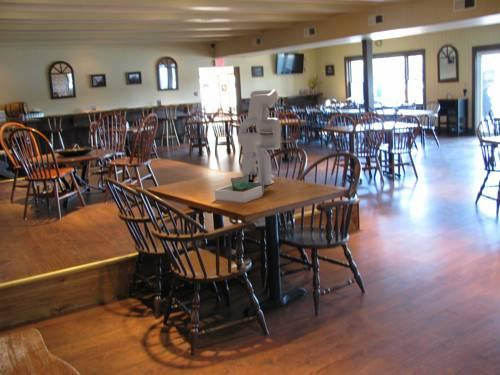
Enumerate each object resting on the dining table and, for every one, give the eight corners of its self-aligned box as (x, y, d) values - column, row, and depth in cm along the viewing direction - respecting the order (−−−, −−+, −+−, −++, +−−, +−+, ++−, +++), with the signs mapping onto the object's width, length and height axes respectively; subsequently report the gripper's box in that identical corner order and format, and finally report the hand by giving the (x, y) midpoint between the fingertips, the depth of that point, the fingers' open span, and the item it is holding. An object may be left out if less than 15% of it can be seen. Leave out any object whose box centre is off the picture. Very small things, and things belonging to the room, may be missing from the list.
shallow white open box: (234, 193, 309) (234, 183, 308) (262, 196, 298) (261, 186, 297) (215, 200, 294) (214, 190, 293) (243, 203, 283) (243, 192, 282)
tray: (236, 190, 310) (235, 181, 309) (264, 193, 299) (263, 183, 298) (217, 197, 296) (217, 186, 295) (246, 199, 285) (245, 189, 283)
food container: (238, 196, 290) (237, 178, 288) (231, 195, 295) (230, 177, 293) (254, 192, 298) (253, 175, 296) (247, 191, 303) (246, 174, 301)
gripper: (263, 154, 301) (265, 185, 304) (242, 154, 309) (244, 184, 313) (256, 156, 295) (258, 187, 298) (235, 155, 303) (237, 186, 307)
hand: (251, 185), depth 305 cm, fingers closed
